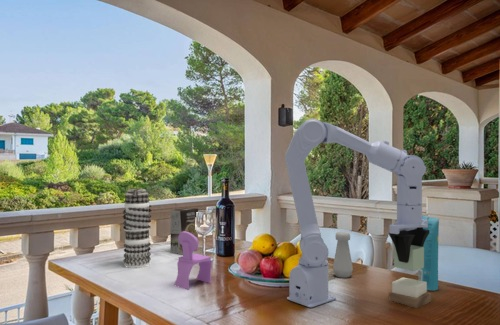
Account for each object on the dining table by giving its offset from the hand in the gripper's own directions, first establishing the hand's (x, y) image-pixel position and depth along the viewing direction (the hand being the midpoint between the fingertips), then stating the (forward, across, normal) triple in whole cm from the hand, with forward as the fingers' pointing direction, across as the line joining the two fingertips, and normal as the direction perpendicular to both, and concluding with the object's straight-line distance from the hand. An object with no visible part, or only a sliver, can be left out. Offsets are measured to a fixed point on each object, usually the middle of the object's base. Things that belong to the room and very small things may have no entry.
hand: (409, 260), depth 100 cm
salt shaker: (+10, +5, +24) cm, 26 cm away
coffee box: (+10, -14, +83) cm, 85 cm away
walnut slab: (+10, 0, 0) cm, 10 cm away
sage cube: (+2, 0, 0) cm, 2 cm away
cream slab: (+8, 0, 0) cm, 8 cm away
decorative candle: (+10, -36, +76) cm, 85 cm away
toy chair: (+10, -33, +46) cm, 57 cm away
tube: (+10, +13, +2) cm, 17 cm away
